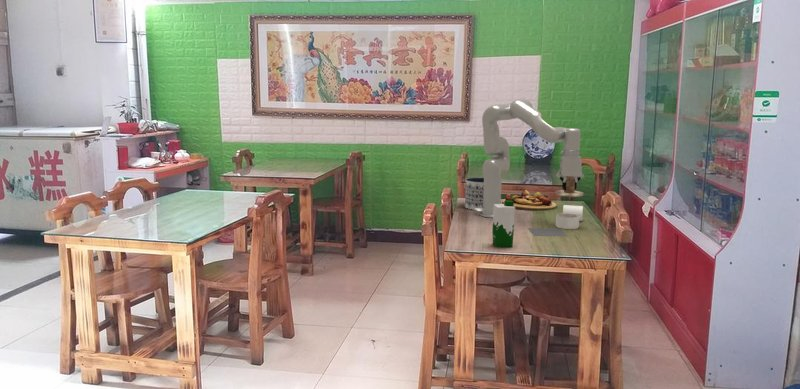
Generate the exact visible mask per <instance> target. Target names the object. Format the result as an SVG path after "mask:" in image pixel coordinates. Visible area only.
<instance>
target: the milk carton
mask: <svg viewBox="0 0 800 389" xmlns="http://www.w3.org/2000/svg"><path fill="white" fill-rule="evenodd" d="M515 213H516V209H515V207H514V201H512V200H505V201H504V204H502V203H501V204H494V207H493V218H492V229H491V230H492V232H491V233H492V244H493V245H494V247H495V248H513V244H514V235H515V234H514V231H515V229H514V228H515Z"/></svg>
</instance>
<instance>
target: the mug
mask: <svg viewBox="0 0 800 389" xmlns="http://www.w3.org/2000/svg"><path fill="white" fill-rule="evenodd" d="M583 211H584V206H583V205H568V204H563V207H562V213H569V214H575V215H578V216H580V217H579V222H583V214H584V213H583Z"/></svg>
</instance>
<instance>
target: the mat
mask: <svg viewBox="0 0 800 389" xmlns="http://www.w3.org/2000/svg"><path fill="white" fill-rule="evenodd" d="M527 229H528V230H529V232H530V233H531V234H532V235H533V236H534V237H569V235H568V234H567V233H565V231H563V230H562V228H550V227H549V228H546V227H545V228H542V227H541V228H540V227H539V228H536V227H534V228H533V227H529V228H527Z"/></svg>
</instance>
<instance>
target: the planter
mask: <svg viewBox="0 0 800 389" xmlns="http://www.w3.org/2000/svg"><path fill="white" fill-rule="evenodd" d="M464 193H465V194H464V208H465V209H467V208H468V209H467V210H470V209H472V210H471V211H474V208H482V206H483V194H484V177H470V178H469V177H468V178H466V179H465V192H464Z"/></svg>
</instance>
